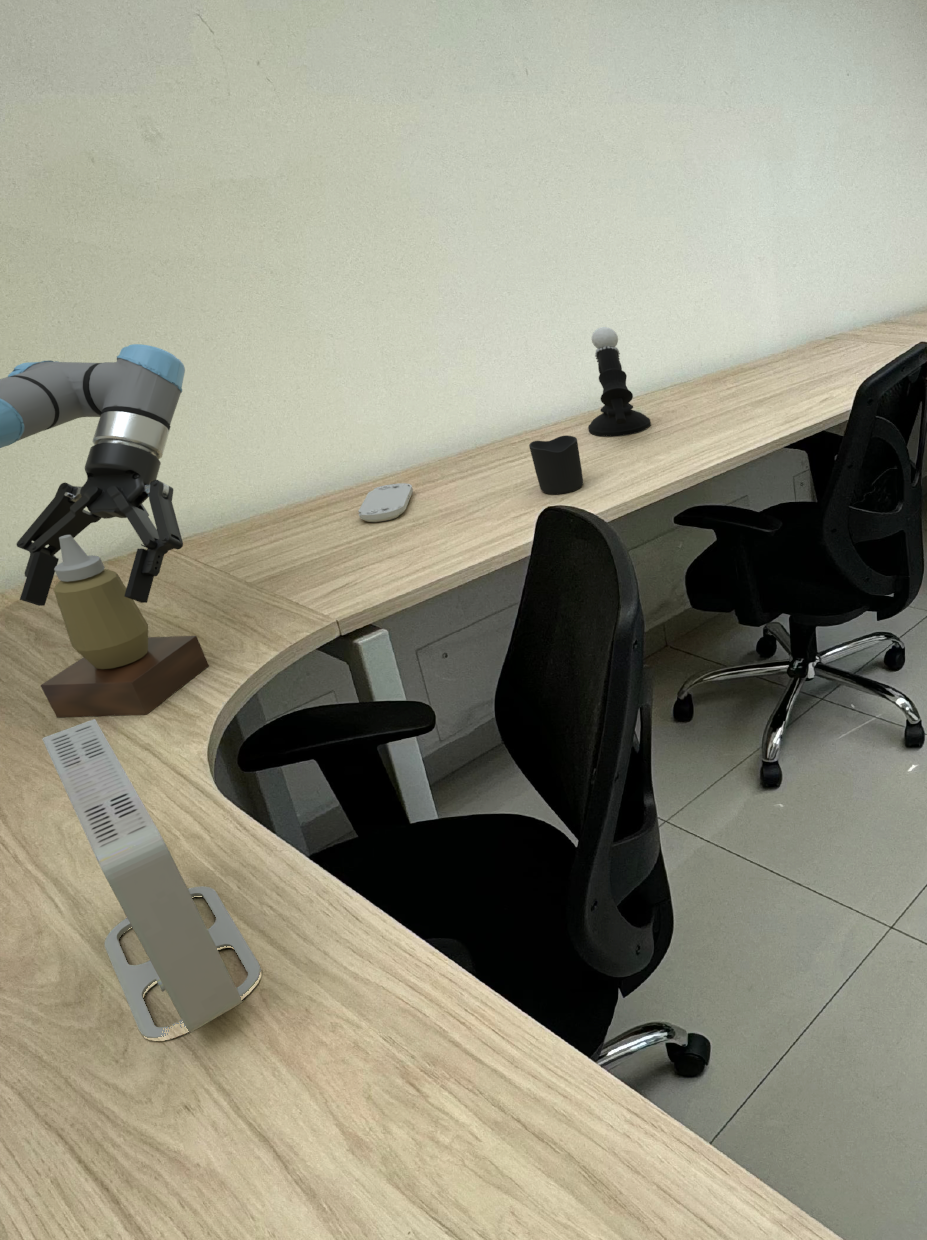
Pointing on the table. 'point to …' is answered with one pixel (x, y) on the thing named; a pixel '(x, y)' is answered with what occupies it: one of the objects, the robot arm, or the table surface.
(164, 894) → the network device
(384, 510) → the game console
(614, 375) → the sculpture
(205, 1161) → the table surface
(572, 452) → the pen holder
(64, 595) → the squeeze bottle
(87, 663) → the riser
